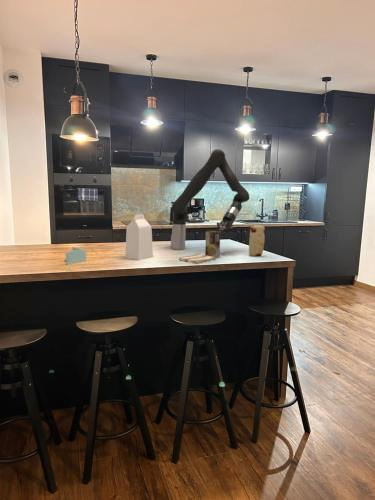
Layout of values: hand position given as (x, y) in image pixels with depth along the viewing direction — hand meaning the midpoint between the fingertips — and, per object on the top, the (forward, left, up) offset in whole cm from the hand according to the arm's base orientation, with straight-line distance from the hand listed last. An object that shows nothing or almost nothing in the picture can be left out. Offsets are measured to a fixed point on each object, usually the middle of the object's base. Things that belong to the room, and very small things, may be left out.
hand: (218, 235), depth 225 cm
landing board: (0, -20, -13) cm, 24 cm away
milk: (-28, -42, -13) cm, 52 cm away
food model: (+17, +18, -13) cm, 28 cm away
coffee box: (0, -6, -13) cm, 14 cm away
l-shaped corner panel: (-45, -78, -14) cm, 91 cm away
